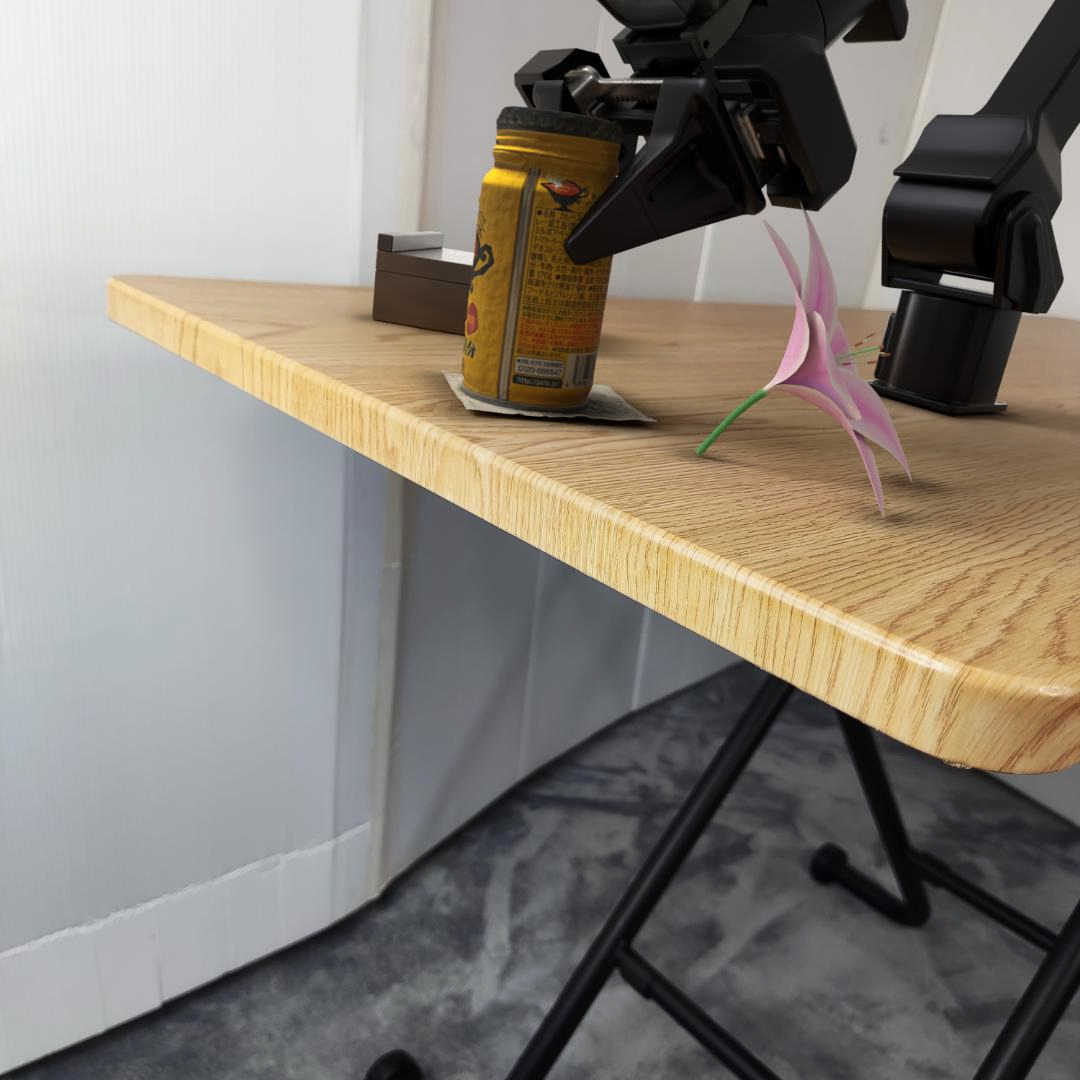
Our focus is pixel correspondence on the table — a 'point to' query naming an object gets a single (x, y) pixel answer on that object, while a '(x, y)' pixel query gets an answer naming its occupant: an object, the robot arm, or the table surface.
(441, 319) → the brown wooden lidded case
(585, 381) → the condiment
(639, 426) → the table surface
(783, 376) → the lily
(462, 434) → the table surface
